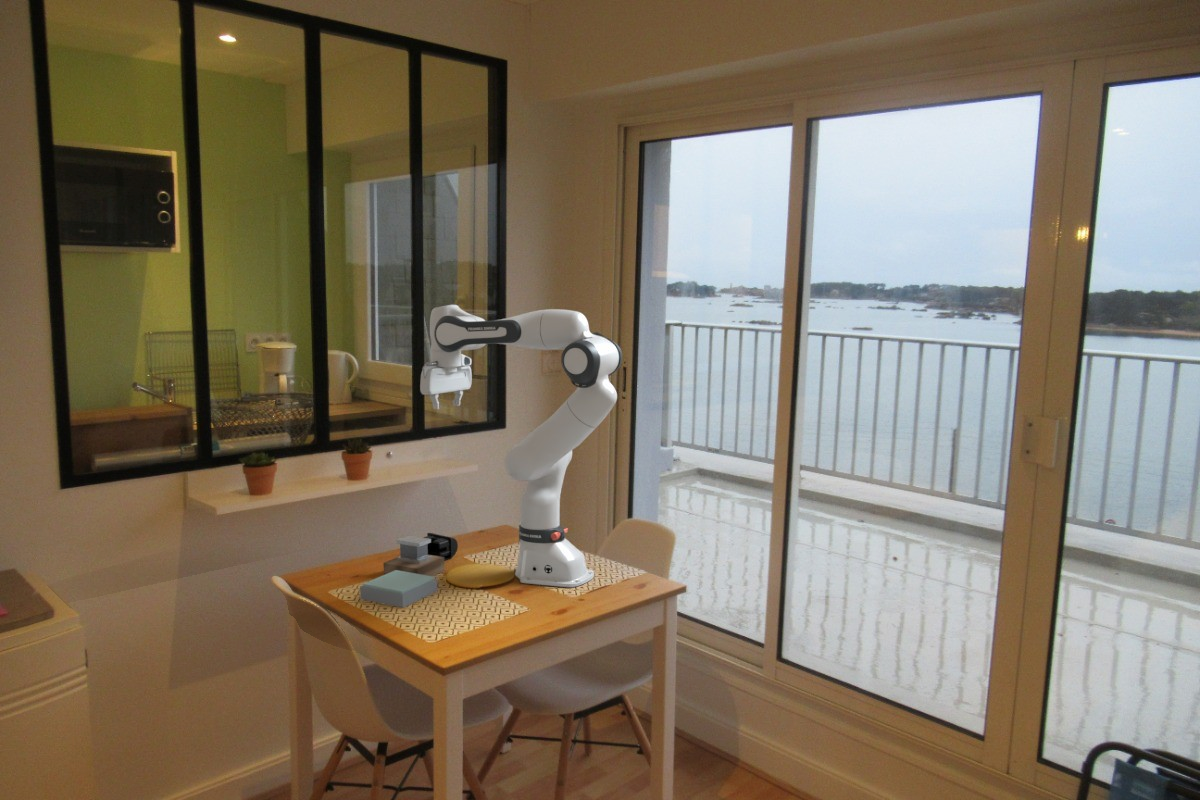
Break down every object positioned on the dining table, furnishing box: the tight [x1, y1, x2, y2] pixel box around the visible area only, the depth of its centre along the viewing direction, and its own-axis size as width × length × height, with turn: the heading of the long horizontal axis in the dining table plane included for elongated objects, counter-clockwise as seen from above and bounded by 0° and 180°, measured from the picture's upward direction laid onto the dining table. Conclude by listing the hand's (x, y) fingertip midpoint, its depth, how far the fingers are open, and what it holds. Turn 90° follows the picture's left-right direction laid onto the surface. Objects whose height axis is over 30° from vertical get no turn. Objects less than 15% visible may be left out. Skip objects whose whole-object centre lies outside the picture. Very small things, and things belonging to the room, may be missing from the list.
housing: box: [396, 535, 431, 564], centre depth 240 cm, size 8×5×6 cm, turn 63°
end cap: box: [422, 532, 459, 562], centre depth 256 cm, size 10×7×7 cm
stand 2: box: [359, 570, 438, 608], centre depth 223 cm, size 14×14×4 cm
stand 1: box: [383, 555, 446, 577], centre depth 240 cm, size 12×12×4 cm
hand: (446, 407), depth 248 cm, fingers open, 8 cm apart
